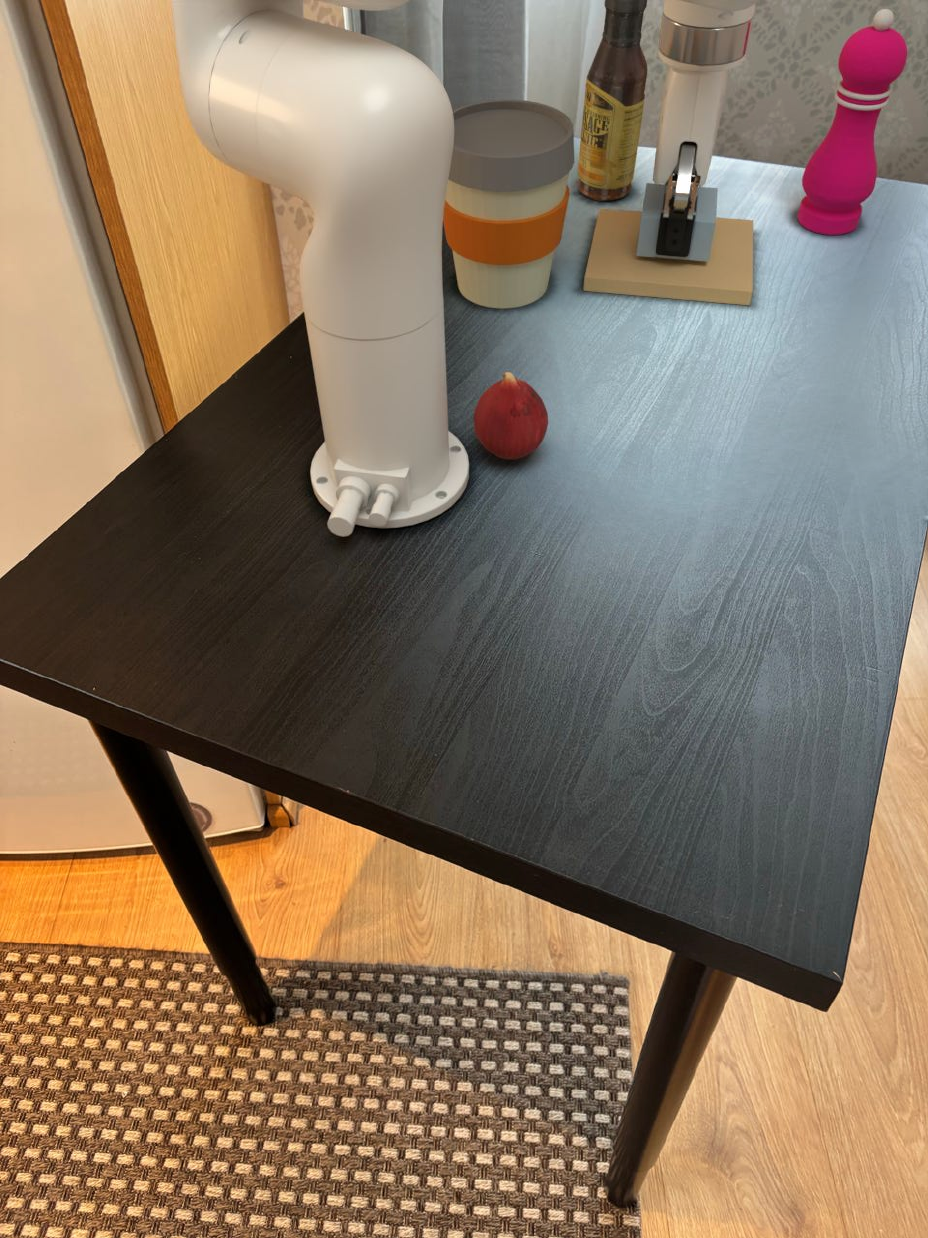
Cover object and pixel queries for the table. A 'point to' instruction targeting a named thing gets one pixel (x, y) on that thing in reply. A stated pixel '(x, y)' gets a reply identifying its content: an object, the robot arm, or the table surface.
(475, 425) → the onion
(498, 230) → the reusable coffee cup
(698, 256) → the gray block
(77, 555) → the table surface
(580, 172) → the sauce bottle
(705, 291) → the base pad
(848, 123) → the pepper mill
